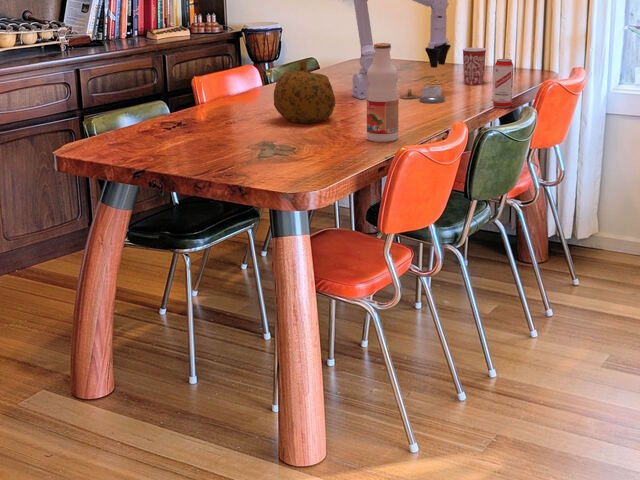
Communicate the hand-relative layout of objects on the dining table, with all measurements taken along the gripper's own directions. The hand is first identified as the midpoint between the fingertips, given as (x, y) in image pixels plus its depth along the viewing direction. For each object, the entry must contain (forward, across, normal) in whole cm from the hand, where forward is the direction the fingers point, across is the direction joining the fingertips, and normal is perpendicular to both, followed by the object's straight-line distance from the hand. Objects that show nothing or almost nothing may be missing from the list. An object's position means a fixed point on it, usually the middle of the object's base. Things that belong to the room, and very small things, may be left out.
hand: (437, 65), depth 337 cm
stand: (+10, -10, +7) cm, 16 cm away
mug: (+11, +27, -5) cm, 30 cm away
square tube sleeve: (+9, -13, -3) cm, 16 cm away
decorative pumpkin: (+11, -60, +22) cm, 65 cm away
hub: (+10, -13, -3) cm, 17 cm away
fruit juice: (+11, -74, -12) cm, 76 cm away
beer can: (+11, -14, -30) cm, 35 cm away
